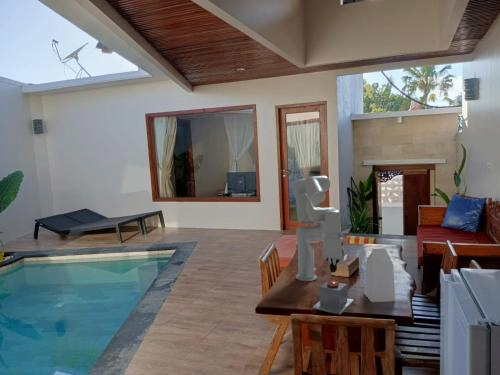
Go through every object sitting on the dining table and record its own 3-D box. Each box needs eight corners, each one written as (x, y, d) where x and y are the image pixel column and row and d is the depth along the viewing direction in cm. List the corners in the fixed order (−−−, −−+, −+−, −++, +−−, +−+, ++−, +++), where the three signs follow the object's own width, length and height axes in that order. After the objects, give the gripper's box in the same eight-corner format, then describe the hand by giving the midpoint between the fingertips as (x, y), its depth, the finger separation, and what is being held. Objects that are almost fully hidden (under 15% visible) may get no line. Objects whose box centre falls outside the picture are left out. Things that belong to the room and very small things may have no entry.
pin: (330, 298, 199) (330, 279, 198) (340, 300, 195) (340, 281, 194) (325, 301, 194) (325, 283, 193) (336, 304, 191) (335, 285, 190)
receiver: (328, 296, 206) (327, 277, 205) (353, 301, 198) (353, 282, 197) (312, 308, 192) (312, 288, 191) (340, 314, 184) (339, 294, 183)
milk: (386, 292, 209) (386, 244, 206) (395, 301, 197) (395, 250, 194) (364, 293, 208) (363, 245, 206) (371, 302, 197) (371, 251, 194)
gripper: (350, 235, 190) (350, 272, 192) (322, 232, 199) (322, 267, 200) (344, 238, 184) (344, 276, 186) (315, 235, 193) (316, 271, 194)
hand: (333, 271), depth 193 cm, fingers closed
